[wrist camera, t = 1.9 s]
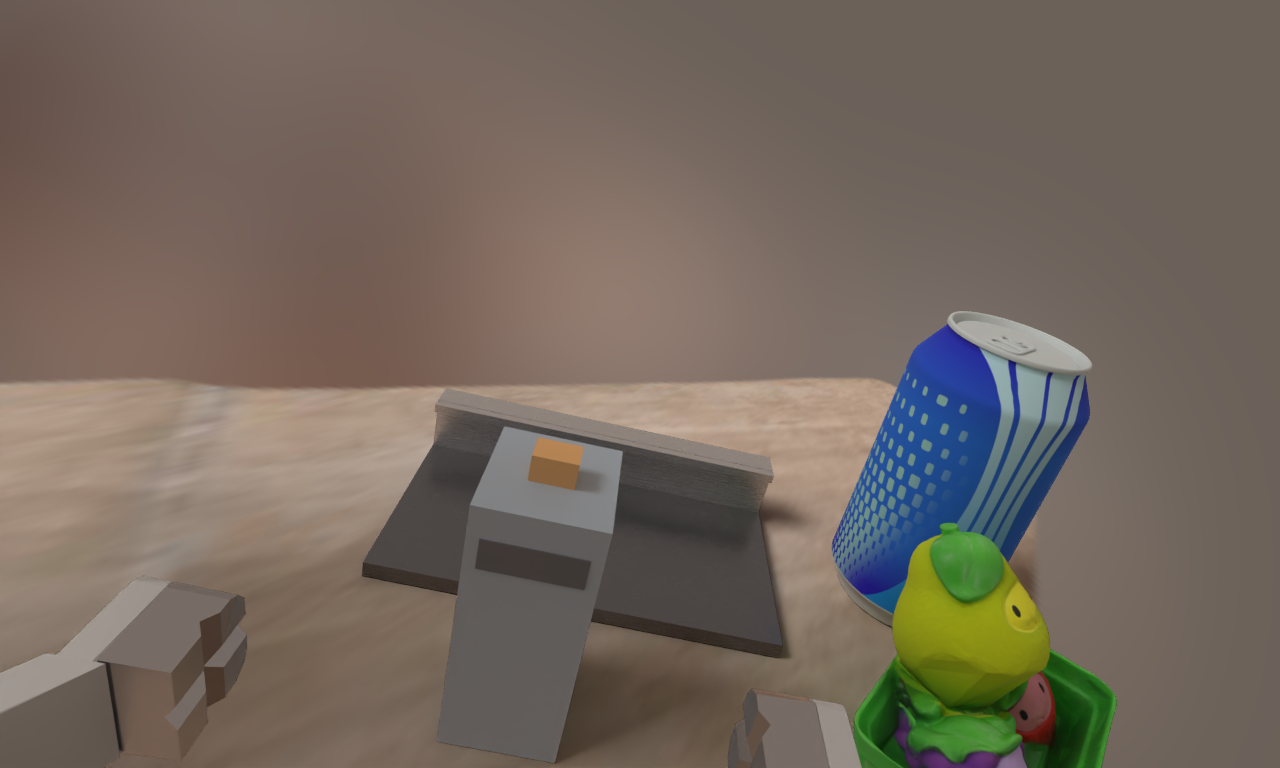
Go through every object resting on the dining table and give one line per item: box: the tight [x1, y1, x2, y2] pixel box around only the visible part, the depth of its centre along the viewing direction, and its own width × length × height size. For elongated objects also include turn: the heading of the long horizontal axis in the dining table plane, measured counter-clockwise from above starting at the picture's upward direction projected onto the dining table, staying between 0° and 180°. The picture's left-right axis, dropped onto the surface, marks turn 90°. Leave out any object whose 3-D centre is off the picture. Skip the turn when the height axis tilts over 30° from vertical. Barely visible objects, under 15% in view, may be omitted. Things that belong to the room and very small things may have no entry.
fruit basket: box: [854, 523, 1117, 768], centre depth 28 cm, size 11×9×11 cm
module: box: [437, 426, 623, 763], centre depth 26 cm, size 4×5×12 cm
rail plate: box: [362, 388, 783, 658], centre depth 39 cm, size 20×14×4 cm
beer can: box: [832, 311, 1092, 627], centre depth 38 cm, size 8×8×16 cm
